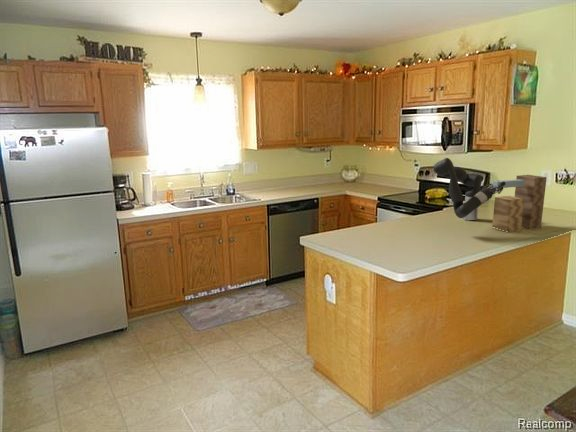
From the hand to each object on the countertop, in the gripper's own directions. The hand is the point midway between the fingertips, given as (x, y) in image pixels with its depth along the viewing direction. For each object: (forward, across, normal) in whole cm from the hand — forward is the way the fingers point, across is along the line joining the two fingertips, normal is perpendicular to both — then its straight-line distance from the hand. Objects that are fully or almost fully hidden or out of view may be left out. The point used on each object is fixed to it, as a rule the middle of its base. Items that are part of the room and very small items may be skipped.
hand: (501, 182), depth 268 cm
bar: (+3, 0, +6) cm, 7 cm away
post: (+6, 0, +40) cm, 40 cm away
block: (-9, 0, +32) cm, 33 cm away
